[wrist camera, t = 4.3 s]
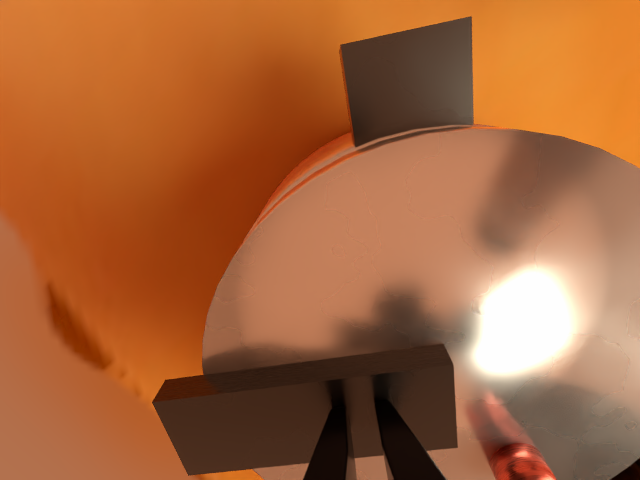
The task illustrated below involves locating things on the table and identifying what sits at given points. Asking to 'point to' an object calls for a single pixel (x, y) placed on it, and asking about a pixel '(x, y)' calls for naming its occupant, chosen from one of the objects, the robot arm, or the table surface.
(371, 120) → the pot
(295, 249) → the lid
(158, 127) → the table surface
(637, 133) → the table surface
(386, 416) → the robot arm
